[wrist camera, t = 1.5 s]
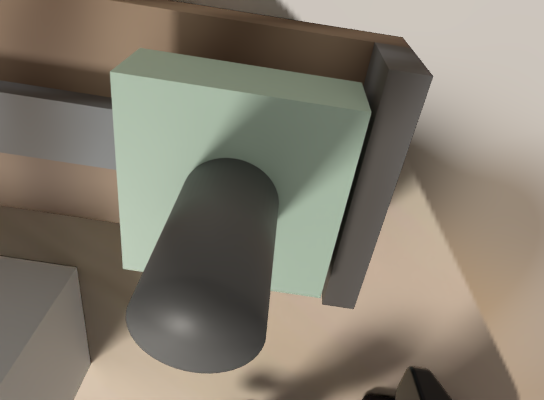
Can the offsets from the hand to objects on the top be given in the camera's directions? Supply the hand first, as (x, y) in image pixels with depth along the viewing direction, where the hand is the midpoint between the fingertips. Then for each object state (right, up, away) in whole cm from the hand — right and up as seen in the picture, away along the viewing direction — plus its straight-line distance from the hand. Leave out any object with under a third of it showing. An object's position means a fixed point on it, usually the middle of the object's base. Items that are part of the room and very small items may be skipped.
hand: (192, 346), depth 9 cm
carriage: (+1, +4, +7) cm, 8 cm away
